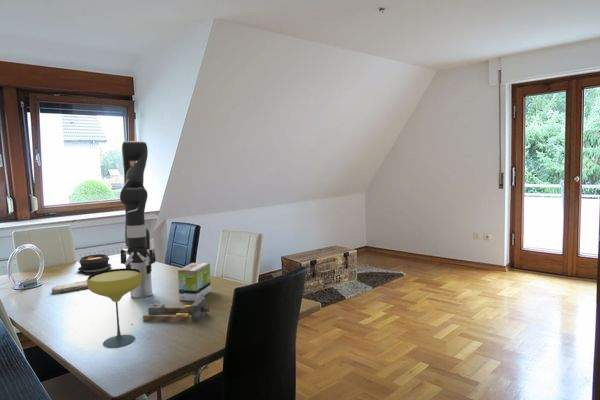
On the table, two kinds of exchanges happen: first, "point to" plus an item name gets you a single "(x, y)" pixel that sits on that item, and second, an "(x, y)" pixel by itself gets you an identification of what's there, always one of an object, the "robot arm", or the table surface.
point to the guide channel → (181, 313)
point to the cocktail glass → (115, 295)
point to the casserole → (94, 263)
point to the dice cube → (156, 309)
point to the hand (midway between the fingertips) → (139, 273)
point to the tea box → (194, 281)
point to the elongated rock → (70, 287)
